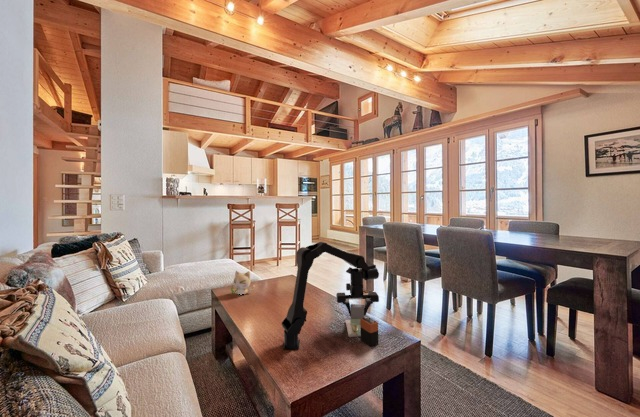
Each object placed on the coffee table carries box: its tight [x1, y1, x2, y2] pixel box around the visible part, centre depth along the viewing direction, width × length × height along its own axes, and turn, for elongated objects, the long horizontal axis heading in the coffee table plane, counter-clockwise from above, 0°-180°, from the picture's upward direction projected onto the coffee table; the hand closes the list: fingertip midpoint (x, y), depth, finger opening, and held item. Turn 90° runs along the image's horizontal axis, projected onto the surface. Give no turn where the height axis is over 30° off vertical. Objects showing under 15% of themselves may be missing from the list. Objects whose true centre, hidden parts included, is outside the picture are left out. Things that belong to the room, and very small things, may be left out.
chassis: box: [345, 319, 361, 338], centre depth 122 cm, size 14×10×4 cm
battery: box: [360, 315, 379, 347], centre depth 110 cm, size 4×7×10 cm, turn 28°
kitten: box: [230, 270, 256, 296], centre depth 172 cm, size 15×10×15 cm
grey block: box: [350, 303, 365, 325], centre depth 122 cm, size 12×6×6 cm, turn 170°
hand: (357, 315), depth 122 cm, fingers closed on grey block, 6 cm apart
